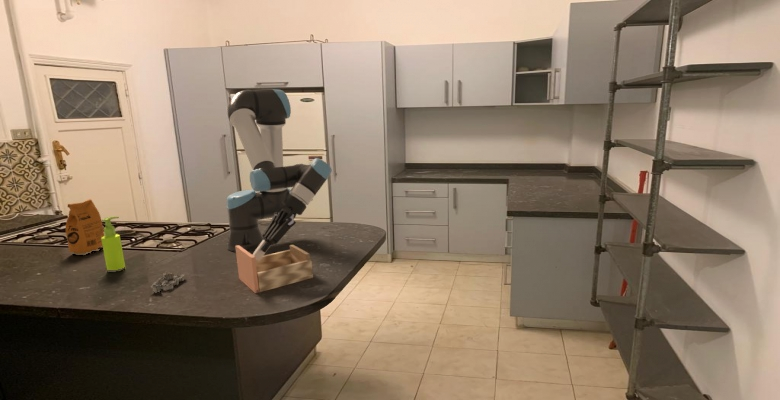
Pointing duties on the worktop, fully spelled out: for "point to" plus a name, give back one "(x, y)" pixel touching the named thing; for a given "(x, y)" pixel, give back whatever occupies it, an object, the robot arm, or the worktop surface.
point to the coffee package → (84, 227)
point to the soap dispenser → (112, 247)
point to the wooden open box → (283, 268)
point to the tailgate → (247, 268)
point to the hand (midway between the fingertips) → (254, 259)
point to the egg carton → (166, 282)
